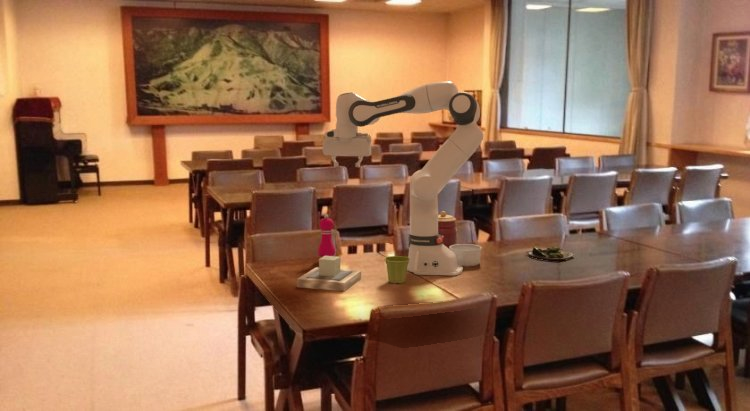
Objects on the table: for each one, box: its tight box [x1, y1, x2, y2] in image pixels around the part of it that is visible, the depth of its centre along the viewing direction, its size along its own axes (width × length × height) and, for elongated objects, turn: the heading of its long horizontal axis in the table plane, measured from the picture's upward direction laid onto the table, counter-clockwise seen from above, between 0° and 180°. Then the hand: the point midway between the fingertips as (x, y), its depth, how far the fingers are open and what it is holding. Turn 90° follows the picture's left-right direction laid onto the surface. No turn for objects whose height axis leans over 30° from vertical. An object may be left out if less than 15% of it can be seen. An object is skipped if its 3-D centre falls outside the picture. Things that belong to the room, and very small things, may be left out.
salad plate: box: [524, 246, 574, 262], centre depth 290 cm, size 19×18×5 cm
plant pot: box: [384, 255, 410, 284], centre depth 248 cm, size 9×9×9 cm
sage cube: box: [318, 255, 341, 277], centre depth 246 cm, size 6×6×6 cm
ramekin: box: [449, 243, 483, 267], centre depth 277 cm, size 13×13×7 cm
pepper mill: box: [317, 214, 336, 260], centre depth 278 cm, size 7×7×20 cm
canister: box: [438, 210, 459, 249], centre depth 301 cm, size 13×13×18 cm
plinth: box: [296, 266, 362, 292], centre depth 247 cm, size 18×18×3 cm
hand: (347, 166), depth 277 cm, fingers open, 8 cm apart
